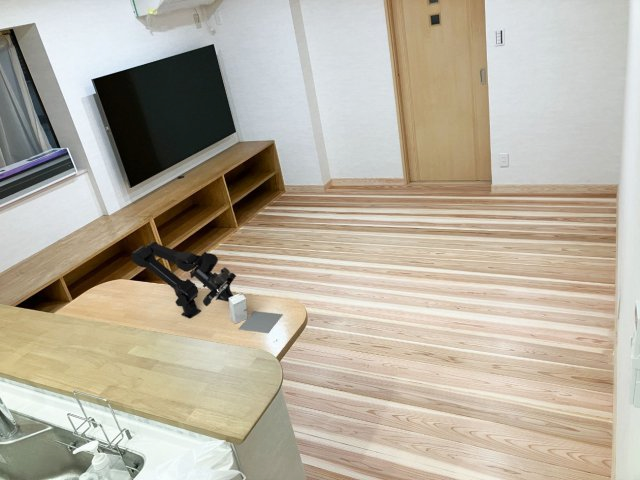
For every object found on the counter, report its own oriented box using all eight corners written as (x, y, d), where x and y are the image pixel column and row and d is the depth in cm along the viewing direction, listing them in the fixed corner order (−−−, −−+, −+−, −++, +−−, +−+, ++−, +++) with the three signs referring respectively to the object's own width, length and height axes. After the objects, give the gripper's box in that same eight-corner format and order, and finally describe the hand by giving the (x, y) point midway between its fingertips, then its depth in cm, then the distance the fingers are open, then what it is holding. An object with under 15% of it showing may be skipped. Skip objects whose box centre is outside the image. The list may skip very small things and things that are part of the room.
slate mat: (238, 329, 211) (238, 328, 211) (254, 311, 221) (254, 310, 221) (268, 333, 205) (267, 332, 205) (282, 314, 215) (282, 314, 215)
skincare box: (235, 324, 214) (233, 305, 206) (229, 317, 217) (227, 297, 209) (248, 318, 217) (246, 298, 209) (243, 311, 220) (241, 291, 212)
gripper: (201, 278, 201) (231, 304, 201) (227, 255, 216) (255, 279, 216) (190, 293, 208) (220, 319, 208) (216, 270, 223) (243, 294, 223)
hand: (235, 302), depth 214 cm, fingers closed
